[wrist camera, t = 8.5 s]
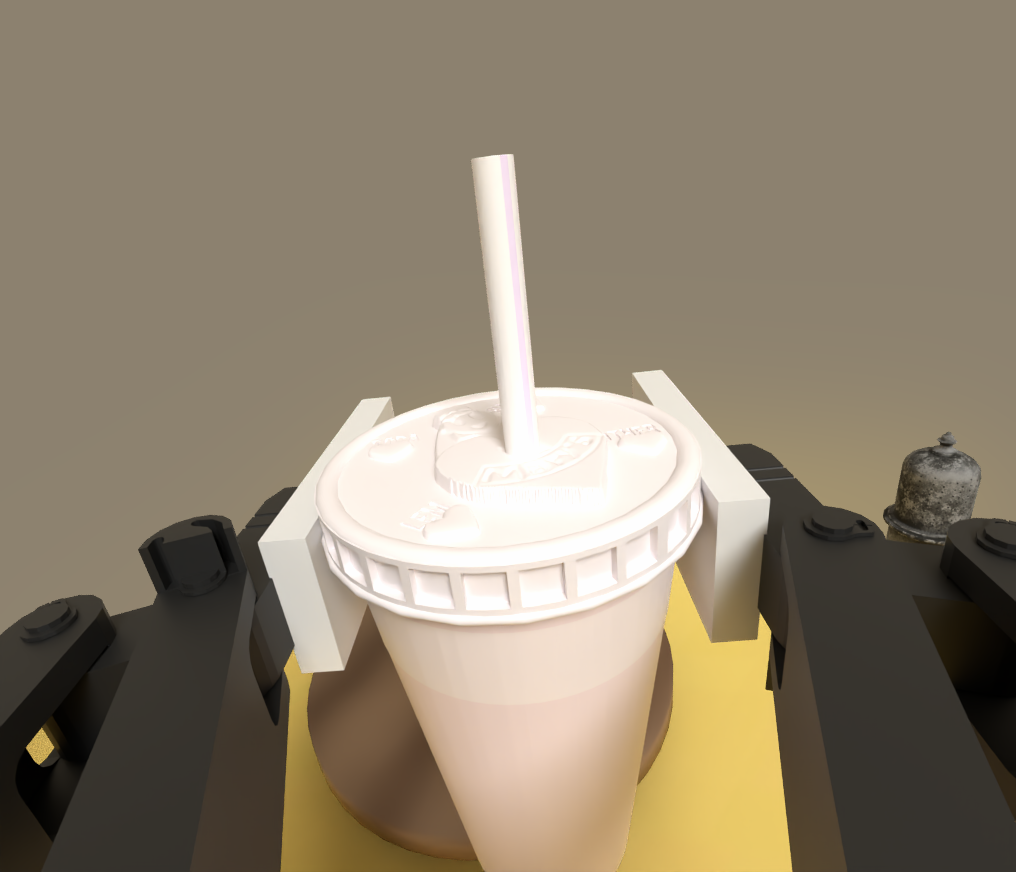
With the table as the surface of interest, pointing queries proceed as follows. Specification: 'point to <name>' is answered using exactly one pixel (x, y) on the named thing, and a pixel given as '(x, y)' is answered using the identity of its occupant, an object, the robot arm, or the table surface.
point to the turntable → (410, 748)
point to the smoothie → (521, 578)
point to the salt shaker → (933, 494)
